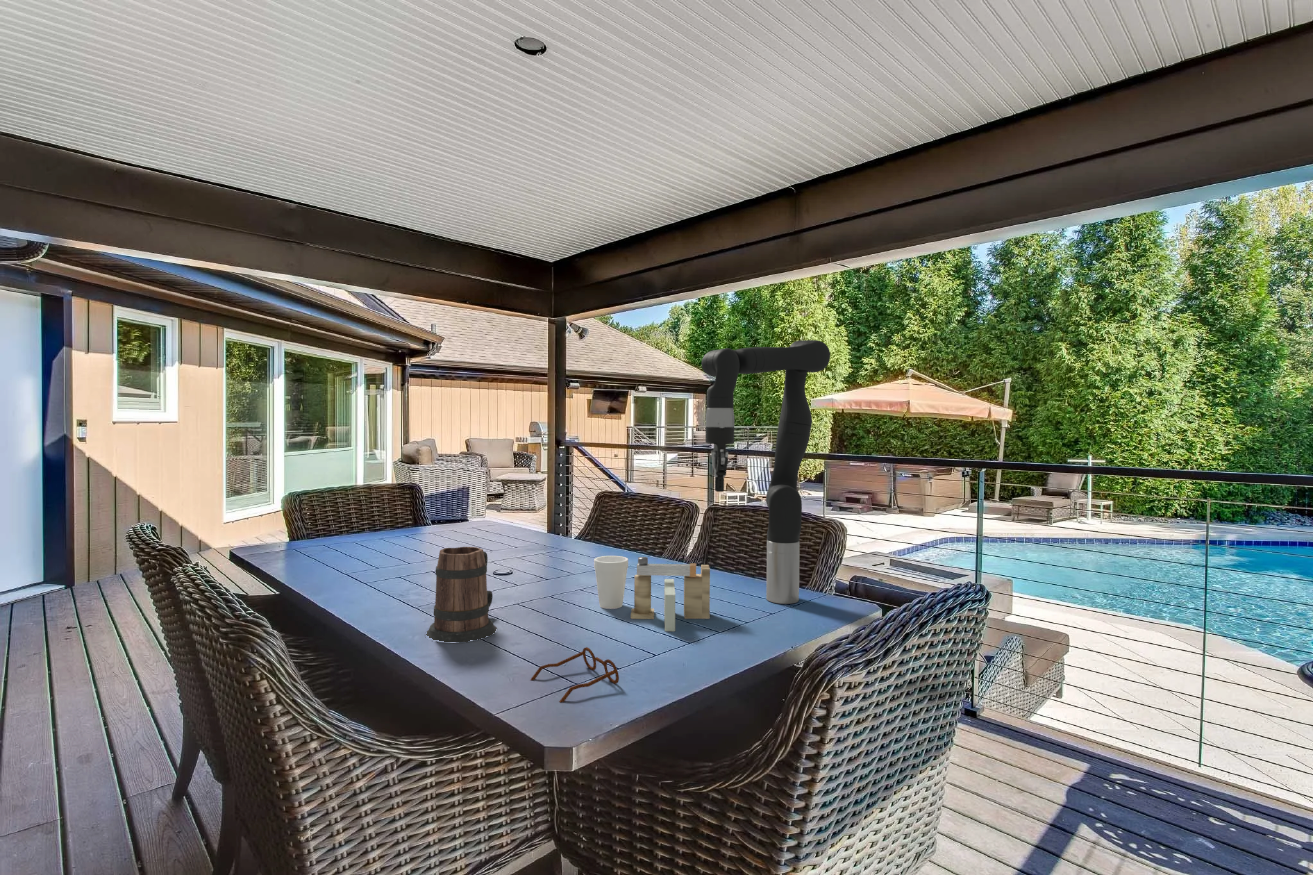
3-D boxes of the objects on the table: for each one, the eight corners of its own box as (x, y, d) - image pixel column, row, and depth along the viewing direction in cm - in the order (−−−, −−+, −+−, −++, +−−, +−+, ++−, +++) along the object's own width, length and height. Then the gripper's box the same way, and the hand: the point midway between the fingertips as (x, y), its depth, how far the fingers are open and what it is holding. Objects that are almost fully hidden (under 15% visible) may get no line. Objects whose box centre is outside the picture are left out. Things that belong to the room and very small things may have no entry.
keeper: (683, 612, 175) (684, 564, 175) (708, 613, 175) (708, 564, 175) (684, 618, 170) (684, 568, 170) (709, 618, 170) (709, 569, 170)
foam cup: (600, 612, 175) (600, 563, 175) (589, 603, 184) (589, 557, 183) (633, 608, 179) (633, 560, 179) (620, 599, 188) (621, 554, 187)
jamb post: (631, 612, 175) (631, 573, 175) (654, 612, 175) (654, 573, 175) (630, 618, 169) (631, 578, 169) (653, 618, 169) (654, 578, 169)
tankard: (478, 645, 149) (478, 558, 148) (410, 640, 152) (410, 555, 151) (518, 615, 172) (518, 540, 171) (459, 612, 175) (459, 537, 174)
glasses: (620, 688, 126) (620, 662, 126) (560, 705, 119) (560, 677, 119) (586, 667, 137) (586, 643, 137) (529, 681, 129) (528, 656, 129)
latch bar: (636, 576, 171) (636, 558, 171) (637, 573, 174) (637, 556, 174) (696, 577, 170) (696, 559, 170) (695, 574, 173) (696, 557, 173)
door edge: (664, 612, 175) (664, 578, 175) (673, 612, 175) (673, 579, 175) (664, 631, 159) (665, 594, 159) (675, 631, 159) (675, 594, 159)
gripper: (702, 425, 178) (702, 488, 178) (708, 425, 164) (708, 494, 165) (730, 425, 178) (729, 488, 178) (738, 425, 165) (737, 494, 165)
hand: (719, 491), depth 172 cm, fingers closed
